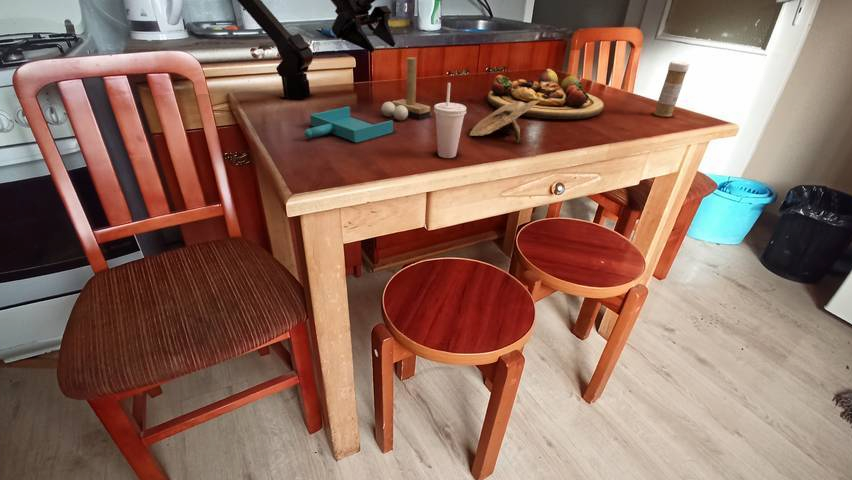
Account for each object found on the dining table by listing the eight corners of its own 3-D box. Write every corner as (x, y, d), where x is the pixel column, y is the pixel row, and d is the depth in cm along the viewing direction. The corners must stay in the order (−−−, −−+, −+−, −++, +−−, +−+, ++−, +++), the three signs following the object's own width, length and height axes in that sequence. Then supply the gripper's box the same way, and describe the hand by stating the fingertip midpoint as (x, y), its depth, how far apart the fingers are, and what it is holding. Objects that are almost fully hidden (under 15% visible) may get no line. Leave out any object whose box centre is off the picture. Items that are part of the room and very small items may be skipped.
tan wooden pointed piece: (463, 157, 110) (453, 126, 107) (510, 135, 114) (501, 105, 111) (504, 154, 93) (493, 117, 91) (557, 128, 97) (548, 92, 95)
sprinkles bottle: (662, 112, 125) (679, 60, 118) (675, 117, 122) (694, 63, 114) (649, 113, 124) (666, 60, 116) (662, 118, 120) (680, 64, 113)
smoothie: (429, 149, 95) (433, 79, 87) (459, 149, 96) (465, 79, 88) (433, 160, 90) (437, 86, 82) (464, 160, 90) (471, 87, 82)
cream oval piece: (391, 121, 111) (391, 106, 109) (395, 117, 114) (395, 103, 112) (405, 122, 110) (406, 107, 108) (409, 118, 113) (409, 104, 111)
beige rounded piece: (379, 117, 114) (379, 102, 112) (384, 113, 117) (383, 99, 114) (393, 119, 113) (393, 104, 111) (397, 115, 116) (397, 100, 114)
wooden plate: (473, 112, 120) (476, 79, 116) (500, 88, 145) (504, 60, 140) (598, 128, 111) (607, 93, 106) (604, 100, 135) (612, 70, 131)
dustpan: (349, 117, 113) (348, 106, 111) (393, 132, 104) (393, 120, 103) (285, 132, 102) (283, 120, 100) (328, 150, 93) (327, 137, 91)
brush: (419, 119, 113) (421, 62, 105) (391, 111, 119) (391, 56, 111) (429, 116, 115) (432, 60, 108) (402, 108, 121) (403, 54, 113)
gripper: (333, -31, 99) (379, 26, 100) (381, -32, 112) (421, 18, 113) (313, 11, 107) (355, 63, 108) (360, 5, 120) (397, 51, 121)
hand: (384, 48), depth 112 cm, fingers open, 9 cm apart
